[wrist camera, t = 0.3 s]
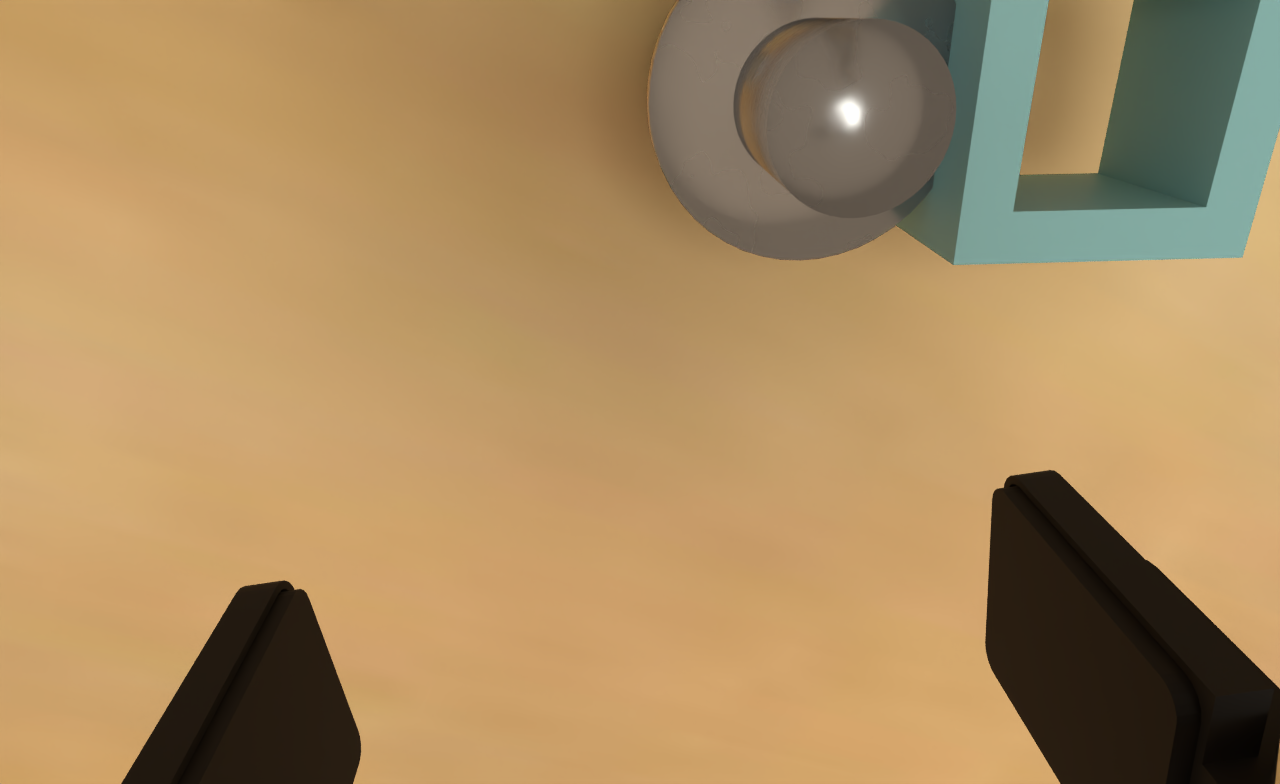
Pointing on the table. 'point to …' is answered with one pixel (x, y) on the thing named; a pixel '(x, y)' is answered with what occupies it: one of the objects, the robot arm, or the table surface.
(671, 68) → the grey tall round-topped piece
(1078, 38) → the table surface
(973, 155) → the teal square frame handle
